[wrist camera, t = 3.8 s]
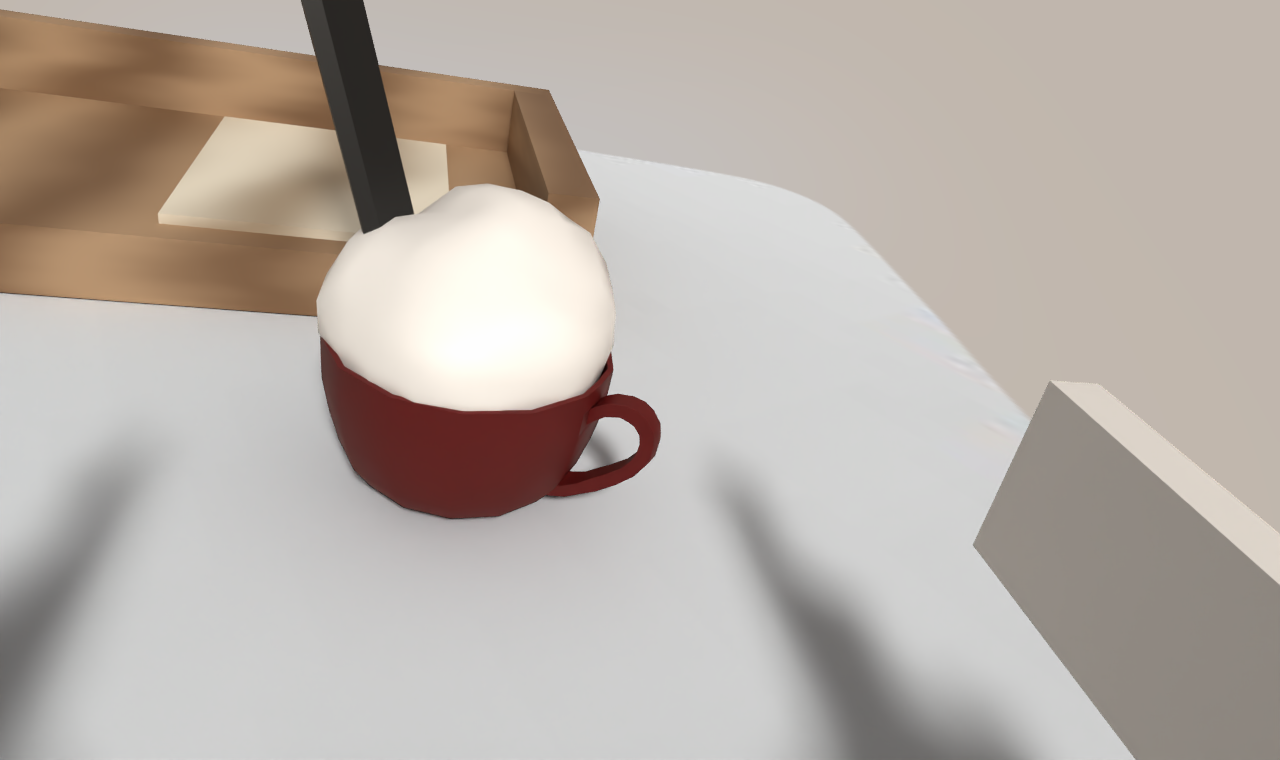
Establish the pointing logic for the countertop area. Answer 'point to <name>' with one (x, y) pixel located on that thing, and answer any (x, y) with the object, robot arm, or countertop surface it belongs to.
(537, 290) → the cocoa
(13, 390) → the countertop surface
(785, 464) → the countertop surface
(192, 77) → the tray
